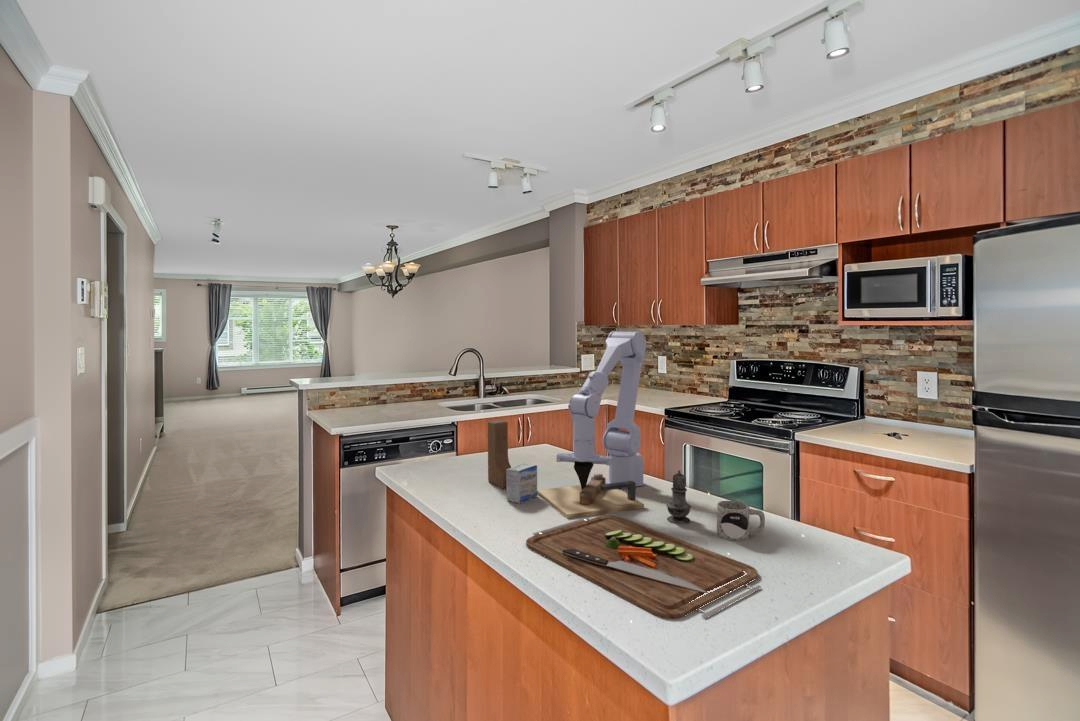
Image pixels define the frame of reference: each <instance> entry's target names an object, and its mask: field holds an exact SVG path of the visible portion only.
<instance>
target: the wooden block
mask: <svg viewBox="0 0 1080 721" xmlns="http://www.w3.org/2000/svg"><path fill="white" fill-rule="evenodd" d="M508 428H509V426H508V421H505V420H501V419H496V420H488V421H487V479H488V480H487V481H488V483H491V484H493V485H495V486H497V487H499V488H501V489H507V481H506V469H509V468H512V466H511V464H510V461H509V446H508V445H509V438H508V437H509V436H508V435H509V431H508Z"/></svg>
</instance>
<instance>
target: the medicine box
mask: <svg viewBox="0 0 1080 721" xmlns="http://www.w3.org/2000/svg"><path fill="white" fill-rule="evenodd" d="M506 481H507V488H506V501H508V502H510V501H511V503H515V504H519V503H520V504H523V503H524V501H525V502H527V501H529V499H530V500H532V499H534V498H537V497H538V495H537V490H538V465H536V464H533V463H527V462H525V463H521V464H519V465H516V466H511V468H509V469H506ZM536 496H537V497H536ZM531 498H532V499H531ZM526 500H527V501H526ZM522 502H523V503H522Z"/></svg>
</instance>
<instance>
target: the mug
mask: <svg viewBox="0 0 1080 721" xmlns="http://www.w3.org/2000/svg"><path fill="white" fill-rule="evenodd" d="M716 506H717V507H716V535H717V537H719V538H721V539H724V540H726V541H727V540H728V541H732V542H733V541H734V542H742V541H743V540H744V541H746V539H747V540H749V538H750V535H751V534H758V533H762V532H764V530H765V525H766V516H765V513H764V512H763V511H761V510H758V509H754V508H750V505H749V504H747V503H745V502H743V501H737V500H720V501H718V502H717V503H716ZM754 515H756V516H758V517H759V526H758V527H750V516H754Z"/></svg>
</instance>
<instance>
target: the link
mask: <svg viewBox="0 0 1080 721" xmlns="http://www.w3.org/2000/svg"><path fill="white" fill-rule="evenodd" d="M606 480H607V479H606V477H605V476H603V473H597V472H596V473H594V474H593V476H591V477H590V480H589V482H587V485H586V486H585V488H584V489H583V490H582V491H581V492H580V504H584V505H588V504H591V503H592V502H593V500H594V499H595V498H596V496H597V495H598V494H599V492H600V491H601V490H602V489H600V485H602V484H606Z"/></svg>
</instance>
